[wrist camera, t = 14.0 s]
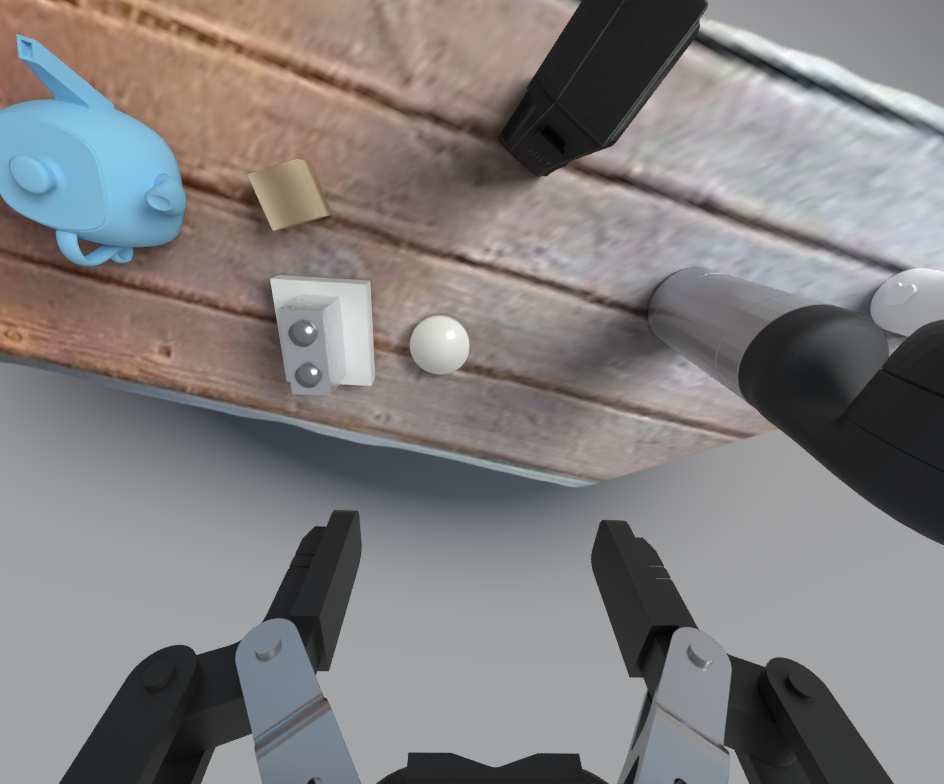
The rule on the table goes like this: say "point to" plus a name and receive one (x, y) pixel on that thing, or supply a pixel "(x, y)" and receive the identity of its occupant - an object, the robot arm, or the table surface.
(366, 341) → the stand
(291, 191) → the oak block
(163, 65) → the table surface
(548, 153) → the portable radio
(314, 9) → the table surface
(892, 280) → the mug
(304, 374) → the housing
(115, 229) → the teapot
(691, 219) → the table surface
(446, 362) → the glossy white pebble
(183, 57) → the table surface
